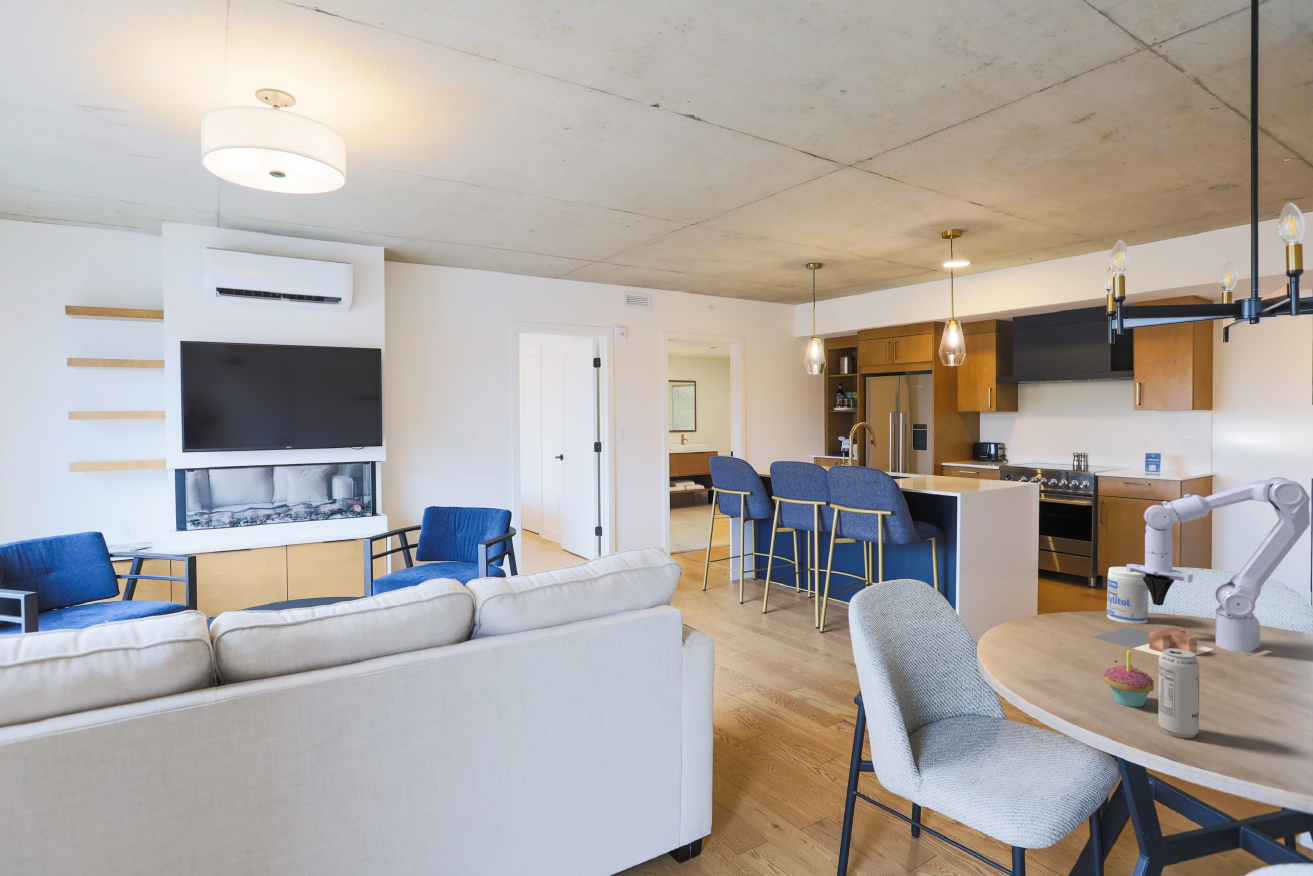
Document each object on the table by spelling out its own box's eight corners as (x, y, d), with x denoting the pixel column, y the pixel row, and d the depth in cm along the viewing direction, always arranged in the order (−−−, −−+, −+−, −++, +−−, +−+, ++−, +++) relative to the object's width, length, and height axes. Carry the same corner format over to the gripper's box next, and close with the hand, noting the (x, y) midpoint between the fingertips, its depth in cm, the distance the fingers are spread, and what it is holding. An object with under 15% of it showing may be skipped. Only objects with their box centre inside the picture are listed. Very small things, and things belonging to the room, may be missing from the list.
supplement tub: (1101, 621, 195) (1101, 569, 194) (1114, 614, 201) (1114, 564, 200) (1141, 629, 187) (1141, 575, 187) (1153, 622, 193) (1153, 570, 192)
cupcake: (1155, 714, 135) (1156, 654, 135) (1104, 705, 140) (1104, 647, 139) (1152, 698, 142) (1152, 641, 142) (1103, 690, 147) (1103, 635, 146)
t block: (1149, 648, 169) (1149, 632, 169) (1171, 642, 174) (1171, 626, 174) (1181, 657, 163) (1181, 640, 163) (1203, 650, 168) (1204, 634, 168)
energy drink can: (1203, 742, 124) (1204, 660, 123) (1163, 736, 126) (1163, 655, 126) (1193, 728, 129) (1193, 649, 129) (1154, 722, 132) (1154, 645, 131)
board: (1127, 630, 186) (1127, 627, 186) (1214, 652, 168) (1214, 649, 168) (1091, 639, 179) (1091, 636, 179) (1178, 664, 161) (1178, 660, 161)
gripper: (1119, 549, 182) (1119, 600, 182) (1181, 558, 169) (1181, 613, 169) (1135, 546, 185) (1135, 596, 185) (1197, 555, 172) (1197, 609, 172)
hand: (1158, 604), depth 177 cm, fingers closed
